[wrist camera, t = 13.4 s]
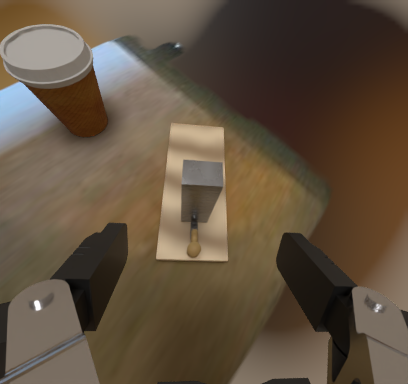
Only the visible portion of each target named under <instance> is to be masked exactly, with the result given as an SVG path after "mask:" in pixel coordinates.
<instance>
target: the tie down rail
mask: <svg viewBox="0 0 408 384" xmlns="http://www.w3.org/2000/svg"><path fill="white" fill-rule="evenodd" d="M183 159H184V160H197V161H210V162H223V189H222V191H221V193H220V195H219V198H218V200H217V202H216V204H215V206H214V209H213V211H212V213H211V215H210V217H209V219H208V222H198V231H197V230H196V229H193V230H192V231H191V239H190V224H191V222H186V221H181V185H182V170H183ZM156 259H157V260H172V261H210V262H226V261H228V247H227V218H226V189H225V160H224V130H223V128H221V127H211V126H200V125H189V124H178V123H171V130H170V139H169V148H168V157H167V166H166V175H165V184H164V192H163V201H162V210H161V219H160V228H159V237H158V246H157V255H156Z"/></svg>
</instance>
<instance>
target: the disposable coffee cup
mask: <svg viewBox="0 0 408 384" xmlns="http://www.w3.org/2000/svg"><path fill="white" fill-rule="evenodd" d="M0 54H1V56H2V59H3V63H4V67H5V69H6V71H7V72H8V73H9V74H10V75H11V76H12V77H14V78H15V79H17V80H19V81H20V82H21V83H23V84H24V85H25V86H26V87H27V88H28V89H29V90H30V91H31V92H32V93H33V94H34V95H35V96H36V97H37V98H38V99H39V100H40V101H41V102H42V103H43V104H44V105H45V106H46V107H47V108H48V109H49V110H50V111H51V112H52V113H53V114H54V115H55V116H56V117H57V118H58V119H59V120H60V121H61V122H62V123H63V124H64V125H65V126H66V127H67V128H68V129H69V130H70V132H71V133H73V134H74V135H77V136H81V137H90V136H94V135H96V134H99V133H100V132H102V131H103V130H104V129H105V127H106V126H107V123H108V119H107V116H106V112H105V108H104V105H103V101H102V97H101V94H100V90H99V86H98V83H97V79H96V75H95V71H94V68H93V54H92V50H91V48H90V47H89V46H88V45H87V44H86V43H85V42H84V40H83V39H82V37H81V36H80V35H79V34H78V33H77V32H75V31H74V30H72V29H69V28H67V27H64V26H59V25H49V24H41V25H33V26H28V27H25V28H22V29H19V30H17V31H14V32H13V33H11V34H9V35H8V36H7V37H6V38H4V40H3V41H2V42H1V45H0Z"/></svg>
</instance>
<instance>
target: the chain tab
mask: <svg viewBox="0 0 408 384" xmlns="http://www.w3.org/2000/svg"><path fill="white" fill-rule="evenodd" d="M222 189H223V162H210V161H197V160H184V159H183V170H182V185H181V221H186V222H191V224H190V239H191V231H192V230H193V229H196V230H197V231H198V222H208V219H209V217H210V215H211V213H212V211H213V209H214V206H215V204H216V202H217V200H218V198H219V195H220V193H221V191H222Z"/></svg>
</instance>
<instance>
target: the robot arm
mask: <svg viewBox="0 0 408 384" xmlns="http://www.w3.org/2000/svg"><path fill="white" fill-rule="evenodd" d="M127 255H128V239H127V225H126V224H125V223H108V224H107V226H106V227H105V228H104V230H103V231H102V232H101V233H94V234H92V235H91V236H89V237H87V238H86V239H85V240H84V241H83V242H82V243H81V244H80V245H79V248H77V249H76V250H75V251H74V252H73V255H71V256H70V257H69V258H68V259H67V260H66V261H65V263H64V264H63V265H62V266H61V267H60V268H59V269H58V270H57V272H56V273H55V274H54V275H53V276H52V277H51V278H50V280H46V281H42V282H39V283H36V284H34V285H32V286H30V287H28V288H26V289H24V290H23V291H22V292H20V293H19V294H18V295H17V296H16V297H15V298H14V299H13V300H12V301H11V302H7V303H2V304H0V384H100V383H99V380H98V377H97V373H96V370H95V366H94V363H93V360H92V356H91V353H90V349H89V346H88V343H87V339H86V336H85V334H84V331H96V329H97V327H98V325H99V322H100V320H101V318H102V316H103V313H104V311H105V309H106V307H107V304H108V302H109V300H110V298H111V295H112V293H113V291H114V289H115V286H116V284H117V282H118V280H119V277H120V275H121V273H122V271H123V268H124V266H125V264H126V261H127ZM276 263H277V267H278V270H279V271H280V273H281V275H282V276H283V278H284V280H285V281H286V283H287V285H288V286H289V288H290V290H291V291H292V293H293V295H294V296H295V298H296V300H297V301H298V303H299V305H300V306H301V308H302V310H303V311H304V313H305V315H306V316H307V318H308V320H309V321H310V323H311V325H312V326H313V328H314V330H315V331H316V332H329V333H330V335H331V337H330V339H329V342H328V370H327V384H408V312H406V311H403V310H400V309H399V308H398V307H397V306H396V305H395V304H394V303H393V302H392V301H390V300H389V299H388V298H387V297H385V296H383V295H382V294H380V293H378V292H376V291H374V290H372V289H369V288H365V287H358V286H357V285H356V284H355V283H354V282H353V281H352V280H351V279H350V278H349V277H348V276H347V275H346V274H345V273H344V272H343V271H342V270H341V269H340V268H339V267H338V266H336V265H335V264H334V262H333V261H331V260H330V259H329V258H328V257H327V255H325V254H324V253H323V252H322V251H321V250H320V249H319V248H317V247H316V246H314V245H312V244H311V243H310V242H309V241H308V240H307V239H306V238H305V237H304V236H303V235H302V234H300V233H284V234H283V236H282V239H281V243H280V247H279V250H278V254H277V258H276ZM157 384H205V383H202V382H198V381H180V382H158V383H157ZM262 384H310V382H309V379H308V378H293V379H292V378H289V379H272V380H269V381H267V382H265V383H262Z"/></svg>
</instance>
